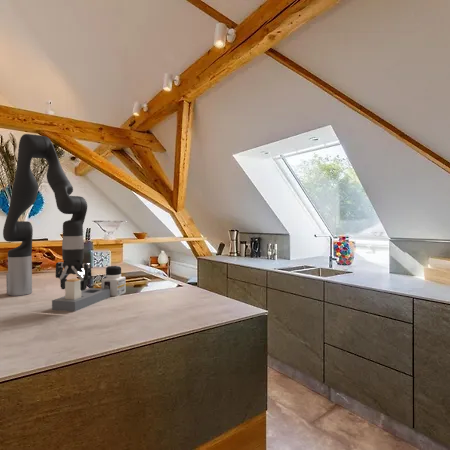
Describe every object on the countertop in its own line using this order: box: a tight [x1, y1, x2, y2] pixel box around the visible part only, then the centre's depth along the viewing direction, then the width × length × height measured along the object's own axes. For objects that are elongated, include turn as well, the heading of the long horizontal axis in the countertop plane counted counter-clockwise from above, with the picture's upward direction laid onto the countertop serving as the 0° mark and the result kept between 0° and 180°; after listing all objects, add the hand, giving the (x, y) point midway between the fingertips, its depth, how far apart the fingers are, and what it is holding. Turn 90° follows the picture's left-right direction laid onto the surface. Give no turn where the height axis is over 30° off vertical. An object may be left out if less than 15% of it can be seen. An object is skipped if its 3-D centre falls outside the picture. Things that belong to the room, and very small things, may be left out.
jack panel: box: [51, 287, 111, 312], centre depth 129 cm, size 10×22×4 cm, turn 167°
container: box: [100, 265, 127, 297], centre depth 145 cm, size 8×8×13 cm
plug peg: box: [64, 278, 81, 300], centre depth 124 cm, size 4×4×11 cm
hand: (73, 289), depth 124 cm, fingers open, 8 cm apart
